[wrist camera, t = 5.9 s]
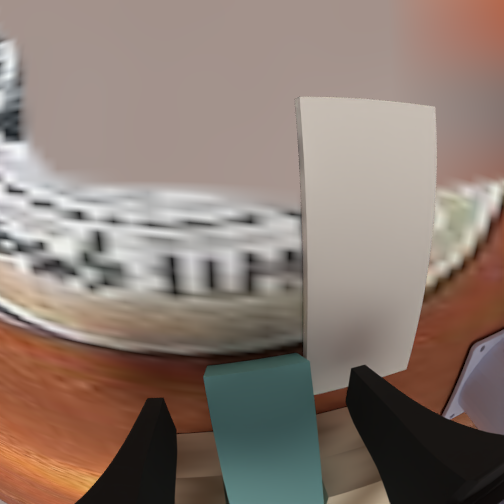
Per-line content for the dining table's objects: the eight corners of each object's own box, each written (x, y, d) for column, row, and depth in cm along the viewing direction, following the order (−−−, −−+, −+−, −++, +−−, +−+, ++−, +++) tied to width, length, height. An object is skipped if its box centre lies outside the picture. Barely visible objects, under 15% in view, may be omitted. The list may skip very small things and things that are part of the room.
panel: (426, 107, 10) (435, 107, 10) (401, 362, 15) (406, 369, 14) (294, 98, 10) (299, 96, 9) (302, 388, 14) (305, 396, 14)
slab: (296, 352, 13) (309, 361, 11) (316, 546, 11) (327, 569, 9) (207, 365, 13) (203, 377, 11) (249, 558, 11) (252, 583, 9)
